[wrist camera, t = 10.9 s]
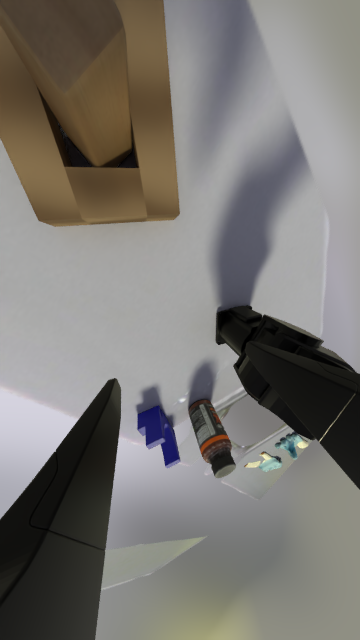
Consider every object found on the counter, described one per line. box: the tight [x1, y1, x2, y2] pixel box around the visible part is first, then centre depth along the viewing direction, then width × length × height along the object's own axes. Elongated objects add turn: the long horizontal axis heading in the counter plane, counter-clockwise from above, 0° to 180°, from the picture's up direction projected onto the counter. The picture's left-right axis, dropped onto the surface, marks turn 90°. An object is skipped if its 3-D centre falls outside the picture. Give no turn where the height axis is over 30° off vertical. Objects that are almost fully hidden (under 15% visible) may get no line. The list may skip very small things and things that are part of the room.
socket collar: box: [0, 0, 180, 227], centre depth 11 cm, size 12×12×2 cm
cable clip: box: [138, 405, 181, 468], centre depth 28 cm, size 12×4×6 cm, turn 15°
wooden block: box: [0, 0, 132, 168], centre depth 8 cm, size 4×4×8 cm
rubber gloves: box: [244, 434, 308, 472], centre depth 65 cm, size 27×33×6 cm
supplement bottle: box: [189, 400, 236, 478], centre depth 28 cm, size 6×6×11 cm
